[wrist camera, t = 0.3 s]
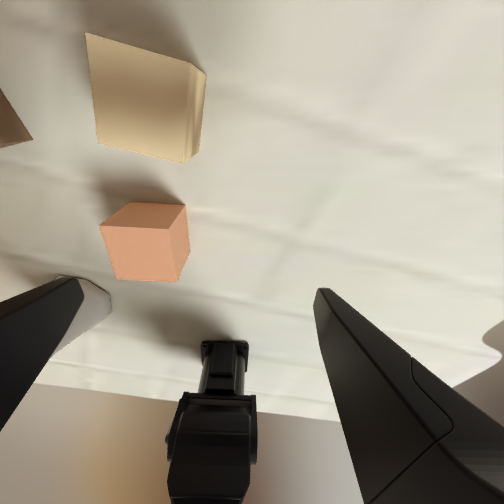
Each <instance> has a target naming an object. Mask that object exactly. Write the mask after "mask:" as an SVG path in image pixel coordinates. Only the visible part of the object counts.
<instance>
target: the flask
mask: <svg viewBox="0 0 504 504" xmlns="http://www.w3.org/2000/svg"><path fill="white" fill-rule="evenodd" d="M61 277H66V276H60V275H59V276H58V277H57V278H56V279H59V278H61ZM56 279H55V280H56ZM77 279H78V278H77ZM78 280H79V283H80V285H81V287H82V290H83V292H84V301H83V303H82V304H81V306H80V308H79V310H78V312H77V314H76V316H75V317H74V319H73V321H72V323H71V325H70V327H69V329H68V330H67V332H66V334H65V336H64V337H63V339H62V341H61V342H60V344H59V345H58V347H57V348H56V350H55V351H54V353H53V354H52V356H53V355H54V354H55V353H56V352H58V351H59V350H60V349H62V348H63V347H65V346H66V345H67V344H69V343H70V342H71V341H73V340H74V339H76V338H77V337H78V336H80V335H81V334H83V333H84V332H86V331H87V330H89V329H90V328H92V327H93V326H95V325H96V324H97V323H99V322H100V321H101V320H103V319H104V318H105V317H106V316H107V315H109V314H110V313H111V312H112V308H111V301H110V295H109V294H108V293H106V292H104V291H103V290H101V289H100V288H98V287H97V286H95V285H93V284H92V283H90V282H89V281H87V280H83V279H78ZM52 356H51V357H52ZM51 357H50V358H51Z"/></svg>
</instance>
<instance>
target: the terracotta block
mask: <svg viewBox="0 0 504 504" xmlns="http://www.w3.org/2000/svg"><path fill="white" fill-rule="evenodd" d="M99 228H100V231H101V234H102V237H103V239H104V242H105V245H106V248H107V251H108V254H109V257H110V260H111V263H112V266H113V269H114V272H115V275H116V278H117V279H120V280H142V281H163V282H177V280H178V278H179V276H180V274H181V271H182V269H183V267H184V265H185V262H186V260H187V258H188V256H189V253H190V243H189V233H188V224H187V214H186V205H177V204H159V203H141V202H129V203H128V204H127V205H125V206H124V207H123V208H121V209H120V210H119V211H117V212H116V213H115V214H113V215H112V216H111V217H109V218H108V219H107V220H105V221H104V222H103V223H101V224H100V225H99Z"/></svg>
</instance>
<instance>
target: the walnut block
mask: <svg viewBox="0 0 504 504" xmlns="http://www.w3.org/2000/svg"><path fill="white" fill-rule="evenodd" d="M30 140H33V138H32V137H31V135H30V133H29V132H28V130H27V129H26V127H25V126H24V124H23V123H22V121H21V120H20V118H19V117H18V115H17V113H16V112H15V110H14V109H13V107H12V106H11V104H10V103H9V101H8V100H7V98H6V97H5V95H4V93H3V92H2V90H1V89H0V148H3V147H7V146H11V145H15V144H18V143H22V142H26V141H30Z"/></svg>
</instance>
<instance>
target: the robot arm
mask: <svg viewBox="0 0 504 504" xmlns="http://www.w3.org/2000/svg"><path fill="white" fill-rule="evenodd" d="M83 301H84V292H83V290H82V287H81V285H80V283H79V280H78V279H77V278H75V277H61V278H59V279H56V280H54V281H51V282H49V283H47V284H44V285H42V286H39V287H37V288H34V289H32V290H29V291H27V292H24V293H22V294H20V295H17V296H15V297H12V298H10V299H7V300H5V301H2V302H0V431H1V430H2V428H3V427H4V425H5V424H6V422H7V421H8V419H9V418H10V416H11V415H12V414H13V412H14V411H15V409H16V407H17V406H18V405H19V403H20V402H21V400H22V399H23V397H24V396H25V394H26V393H27V391H28V390H29V388H30V387H31V385H32V384H33V382H34V381H35V379H36V378H37V376H38V375H39V373H40V372H41V370H42V369H43V367H44V366H45V364H46V363H47V362H48V360H49V359H50V357H51V356H52V354H53V353H54V351H55V350H56V348H57V347H58V345H59V344H60V342H61V341H62V339H63V337H64V336H65V334H66V332H67V330H68V329H69V327H70V325H71V323H72V321H73V319H74V317H75V316H76V314H77V312H78V310H79V308H80V306H81V304H82V303H83ZM313 310H314V316H315V322H316V328H317V334H318V340H319V346H320V350H321V354H322V357H323V361H324V364H325V368H326V371H327V375H328V378H329V382H330V385H331V389H332V392H333V396H334V399H335V403H336V407H337V410H338V414H339V417H340V421H341V424H342V428H343V431H344V435H345V438H346V442H347V445H348V449H349V452H350V456H351V459H352V463H353V466H354V470H355V473H356V477H357V480H358V484H359V487H360V491H361V494H362V498H363V501H364V504H504V426H502V425H501V424H500V423H498V422H497V421H496V420H494V419H493V418H492V417H490V416H489V415H487V414H486V413H485V412H483V411H482V410H481V409H479V408H478V407H477V406H475V405H474V404H472V403H471V402H470V401H468V400H467V399H466V398H464V397H463V396H462V395H460V394H459V393H458V392H456V391H455V390H454V389H452V388H451V387H450V386H448V385H447V384H446V383H444V382H443V381H442V380H441V379H439V378H438V377H437V376H436V375H434V374H433V373H432V372H431V371H429V370H428V369H427V368H426V367H424V366H423V365H422V364H421V363H420V362H418V361H417V360H416V359H415V358H413V357H411V355H410V354H409V353H407V352H406V351H405V350H404V349H402V348H401V347H400V346H399V345H398V344H396V343H395V342H394V341H393V340H392V339H390V338H389V337H388V336H387V335H386V334H384V333H383V332H382V331H381V330H379V329H378V328H377V327H376V326H375V325H373V324H372V323H371V322H370V321H369V320H367V319H366V318H365V317H364V316H362V315H361V314H360V313H359V312H358V311H356V310H355V309H354V308H353V307H352V306H350V305H349V304H348V303H347V302H346V301H344V300H343V299H342V298H341V297H339V296H338V295H337V294H336V293H335V292H333V291H332V290H331V289H330V288H318V290H317V292H316V296H315V300H314V305H313ZM248 351H249V344H248V343H236V342H210V341H203V342H202V343H201V353H202V362H203V369H202V374H201V379H200V384H199V389H198V393H189V392H184V393H183V396H182V398H181V399H180V400H179V405H178V408H177V411H176V414H175V417H174V420H173V422H172V424H171V426H170V428H169V430H168V432H167V435H166V438H165V442H166V444H167V446H168V453H167V460H168V462H171V463H170V468H169V474H168V479H167V484H168V490H169V496H170V499H171V503H172V504H242V501H243V499H244V497H245V494H246V492H247V489H248V487H249V484H250V465H256V461H257V411H256V395H251V396H250V395H244V375H245V372H247V364H248Z"/></svg>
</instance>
